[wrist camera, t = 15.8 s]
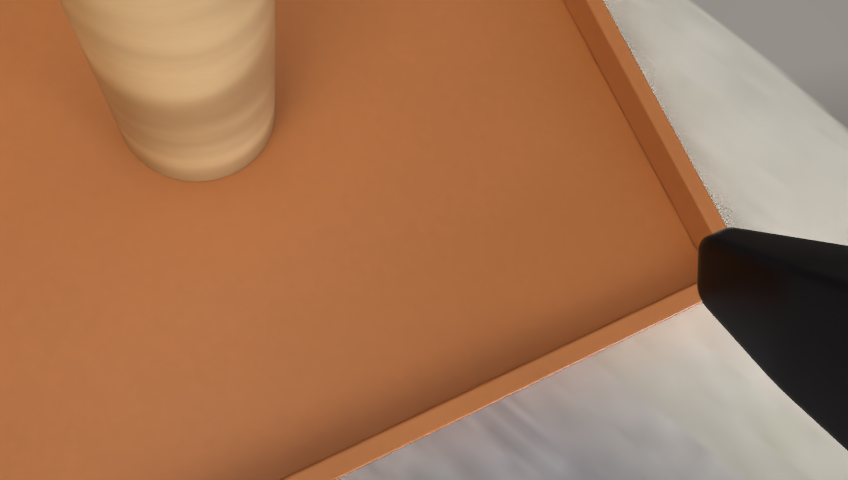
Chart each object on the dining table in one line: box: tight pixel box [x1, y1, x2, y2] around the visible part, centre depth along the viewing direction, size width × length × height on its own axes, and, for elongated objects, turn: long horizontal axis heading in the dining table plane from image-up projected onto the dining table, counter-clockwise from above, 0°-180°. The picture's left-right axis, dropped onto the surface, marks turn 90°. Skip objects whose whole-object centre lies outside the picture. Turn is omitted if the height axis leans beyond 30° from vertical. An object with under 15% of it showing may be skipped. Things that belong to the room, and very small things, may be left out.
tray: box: [0, 0, 727, 480], centre depth 23 cm, size 23×27×2 cm
